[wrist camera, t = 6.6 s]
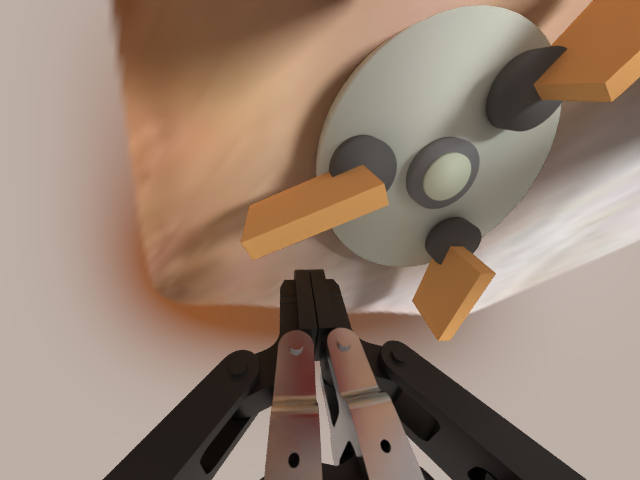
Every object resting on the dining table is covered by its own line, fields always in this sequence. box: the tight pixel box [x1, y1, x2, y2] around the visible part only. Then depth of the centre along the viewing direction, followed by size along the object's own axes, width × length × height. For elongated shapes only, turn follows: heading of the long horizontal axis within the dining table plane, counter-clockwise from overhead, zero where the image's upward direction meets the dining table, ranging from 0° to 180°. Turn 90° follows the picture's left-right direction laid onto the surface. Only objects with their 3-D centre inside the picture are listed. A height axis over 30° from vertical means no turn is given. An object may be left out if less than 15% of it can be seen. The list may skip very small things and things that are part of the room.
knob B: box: [412, 217, 496, 341], centre depth 19 cm, size 10×4×4 cm, turn 174°
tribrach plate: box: [316, 5, 561, 267], centre depth 17 cm, size 17×17×3 cm
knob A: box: [241, 135, 397, 260], centre depth 13 cm, size 10×4×4 cm, turn 111°
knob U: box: [486, 0, 640, 132], centre depth 11 cm, size 10×4×4 cm, turn 144°
